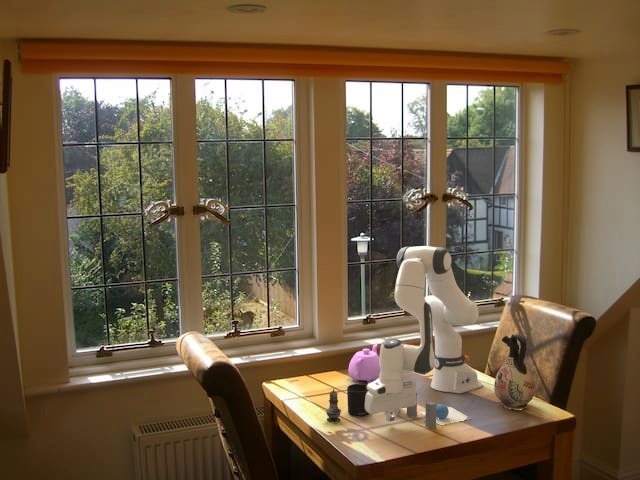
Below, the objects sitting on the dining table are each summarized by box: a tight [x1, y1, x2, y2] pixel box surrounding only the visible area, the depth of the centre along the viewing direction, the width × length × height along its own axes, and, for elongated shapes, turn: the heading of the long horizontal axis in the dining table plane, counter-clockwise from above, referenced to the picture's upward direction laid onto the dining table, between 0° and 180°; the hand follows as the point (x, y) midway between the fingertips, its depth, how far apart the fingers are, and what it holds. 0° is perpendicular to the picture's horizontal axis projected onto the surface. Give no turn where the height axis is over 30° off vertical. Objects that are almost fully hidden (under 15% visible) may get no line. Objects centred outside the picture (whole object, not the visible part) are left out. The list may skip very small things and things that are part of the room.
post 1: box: [406, 392, 418, 418], centre depth 264 cm, size 3×3×9 cm
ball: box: [436, 403, 449, 419], centre depth 260 cm, size 6×6×6 cm
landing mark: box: [419, 406, 468, 426], centre depth 263 cm, size 14×14×1 cm
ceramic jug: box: [493, 334, 536, 410], centre depth 270 cm, size 17×15×30 cm
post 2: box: [424, 401, 437, 430], centre depth 252 cm, size 3×3×9 cm
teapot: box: [348, 343, 380, 385], centre depth 306 cm, size 22×16×14 cm
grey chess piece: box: [325, 389, 342, 423], centre depth 259 cm, size 6×6×12 cm
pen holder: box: [346, 383, 371, 418], centre depth 266 cm, size 9×9×10 cm
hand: (390, 421), depth 253 cm, fingers closed
